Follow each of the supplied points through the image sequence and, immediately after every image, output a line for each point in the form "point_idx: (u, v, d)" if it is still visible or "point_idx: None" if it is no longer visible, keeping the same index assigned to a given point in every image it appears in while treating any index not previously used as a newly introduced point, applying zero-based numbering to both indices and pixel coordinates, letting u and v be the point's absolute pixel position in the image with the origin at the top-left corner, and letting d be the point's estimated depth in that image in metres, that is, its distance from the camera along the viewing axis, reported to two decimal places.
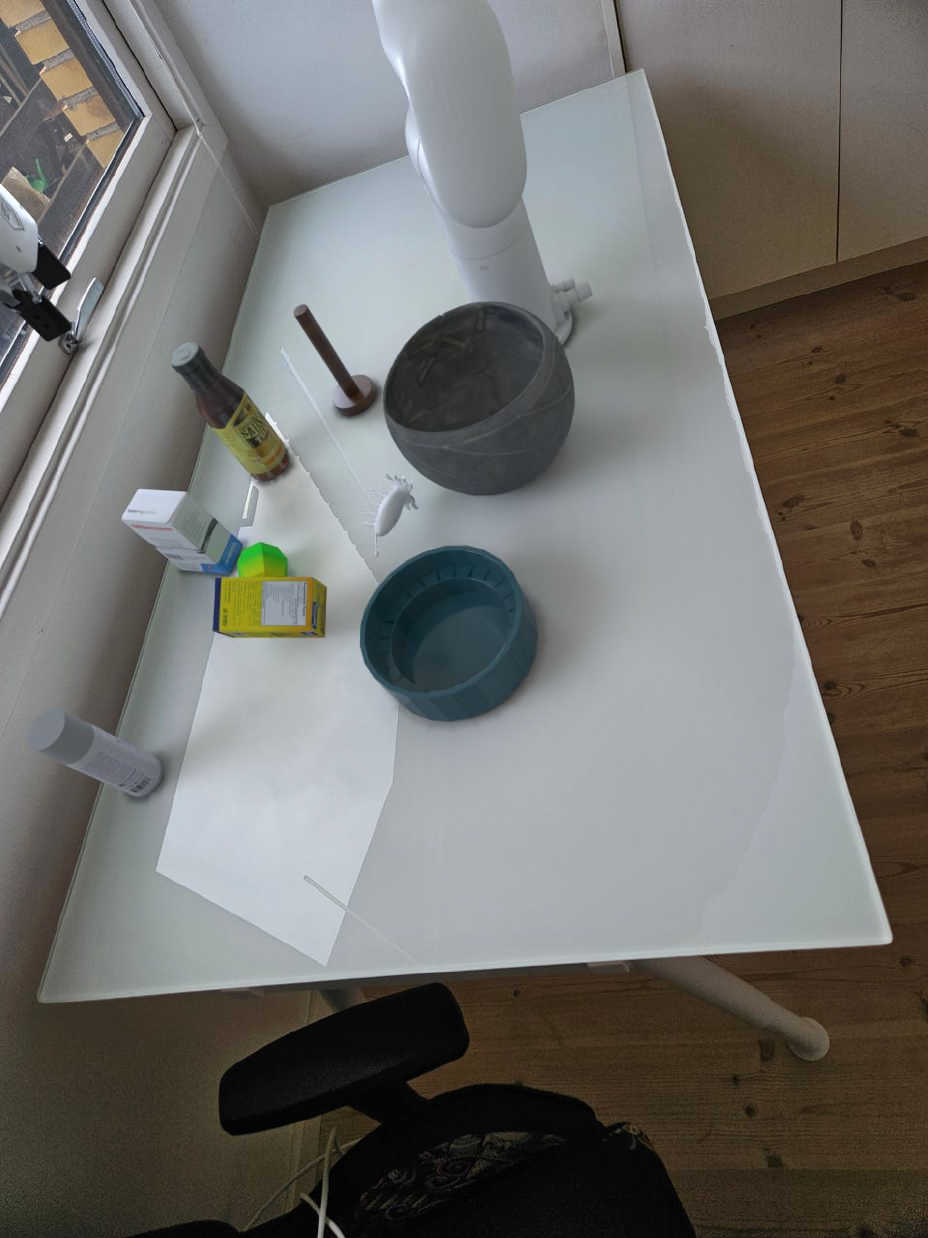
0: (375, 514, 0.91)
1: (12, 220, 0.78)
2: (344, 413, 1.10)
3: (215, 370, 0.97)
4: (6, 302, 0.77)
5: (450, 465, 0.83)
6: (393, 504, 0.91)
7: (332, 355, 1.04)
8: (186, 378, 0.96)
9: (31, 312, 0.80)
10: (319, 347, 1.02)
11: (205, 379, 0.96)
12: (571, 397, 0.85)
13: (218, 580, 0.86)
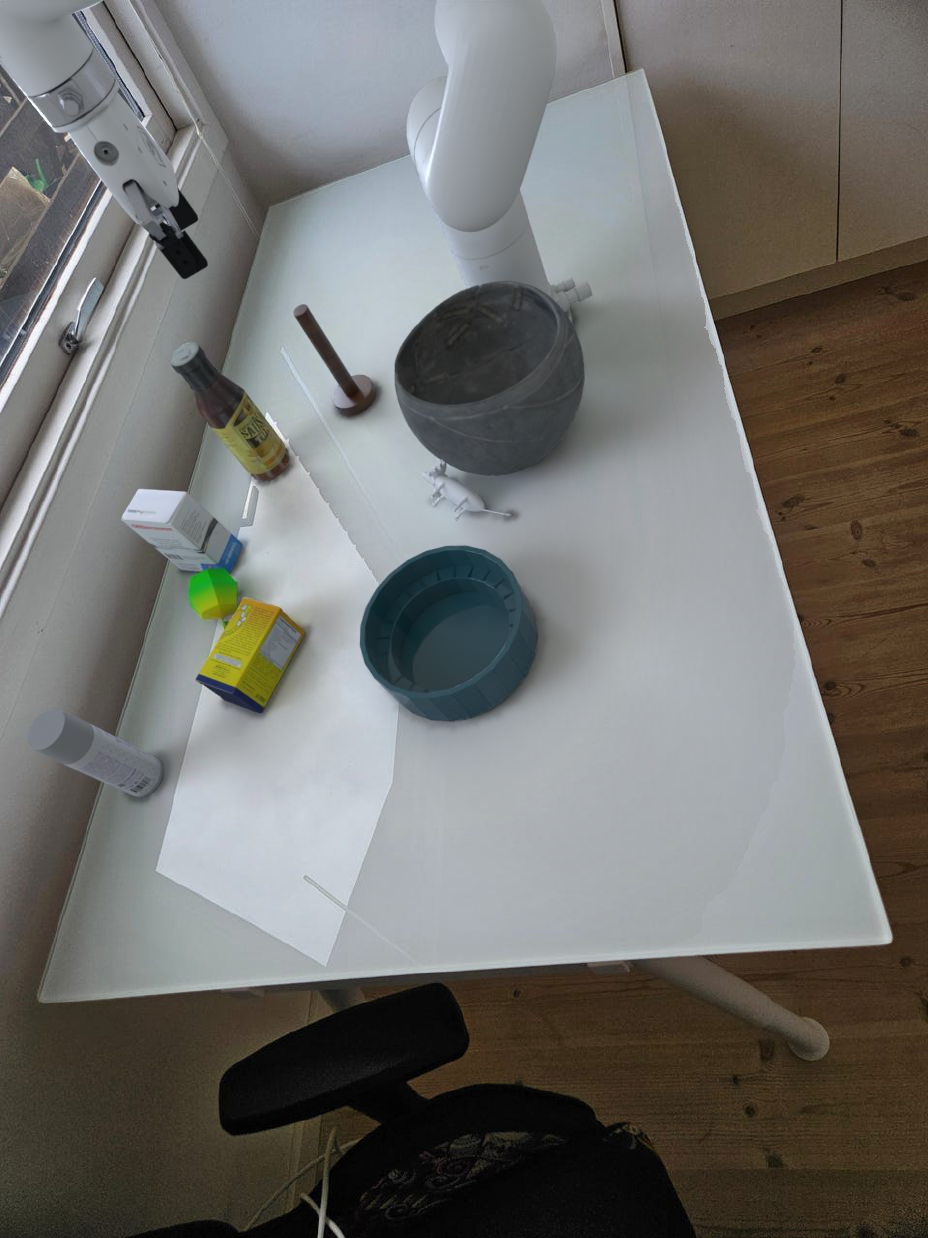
0: (465, 499, 0.92)
1: (156, 156, 0.80)
2: (344, 413, 1.10)
3: (215, 370, 0.97)
4: (154, 235, 0.78)
5: (434, 436, 0.85)
6: (460, 482, 0.93)
7: (332, 355, 1.04)
8: (186, 378, 0.96)
9: (173, 247, 0.82)
10: (319, 347, 1.02)
11: (205, 379, 0.96)
12: (570, 401, 0.84)
13: (236, 691, 0.86)
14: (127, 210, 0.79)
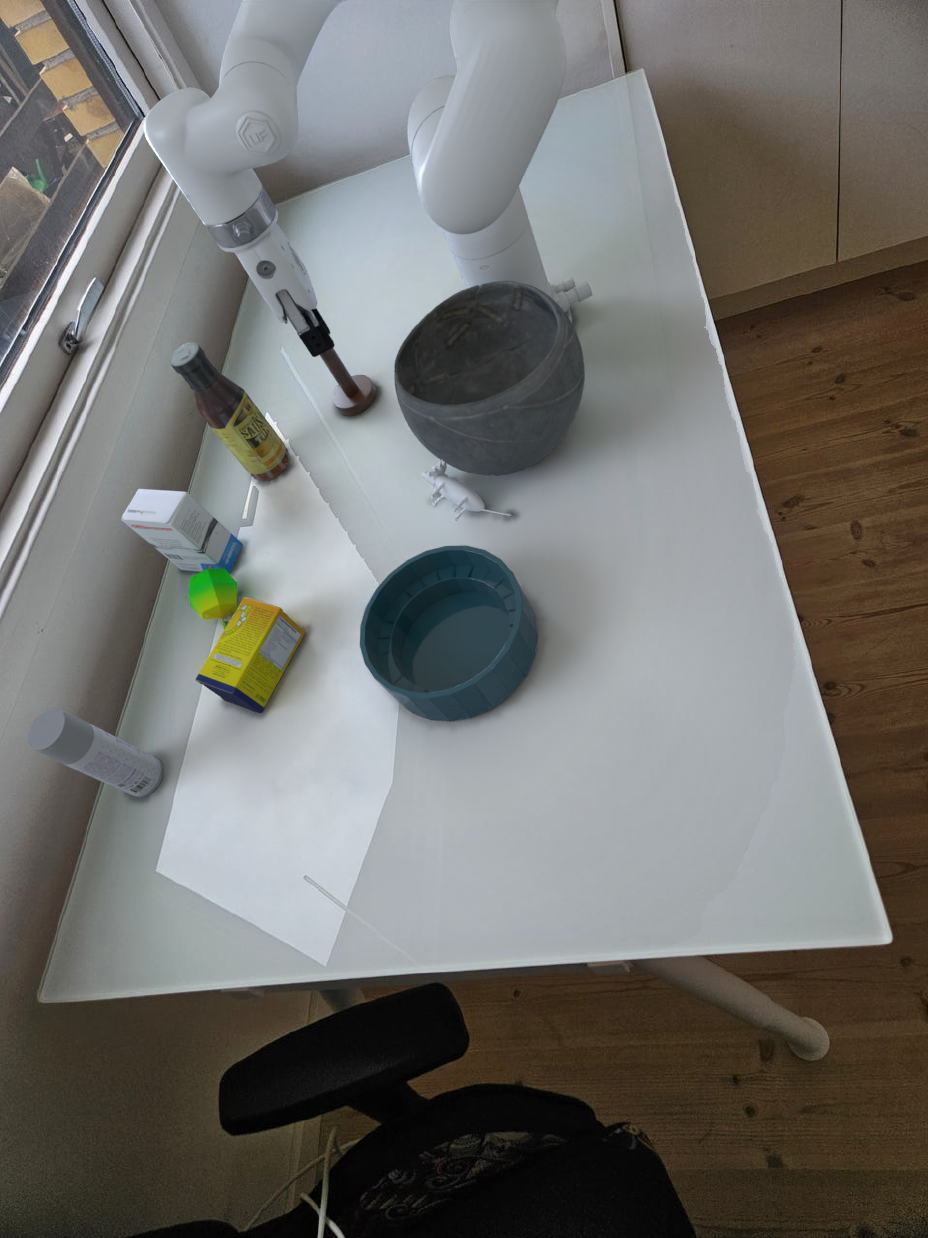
0: (465, 499, 0.92)
1: (299, 266, 0.94)
2: (344, 413, 1.10)
3: (215, 370, 0.97)
4: None
5: (434, 436, 0.85)
6: (460, 482, 0.93)
7: (332, 355, 1.04)
8: (186, 378, 0.96)
9: (309, 333, 0.99)
10: None
11: (205, 379, 0.96)
12: (570, 401, 0.84)
13: (236, 691, 0.86)
14: (275, 313, 0.93)
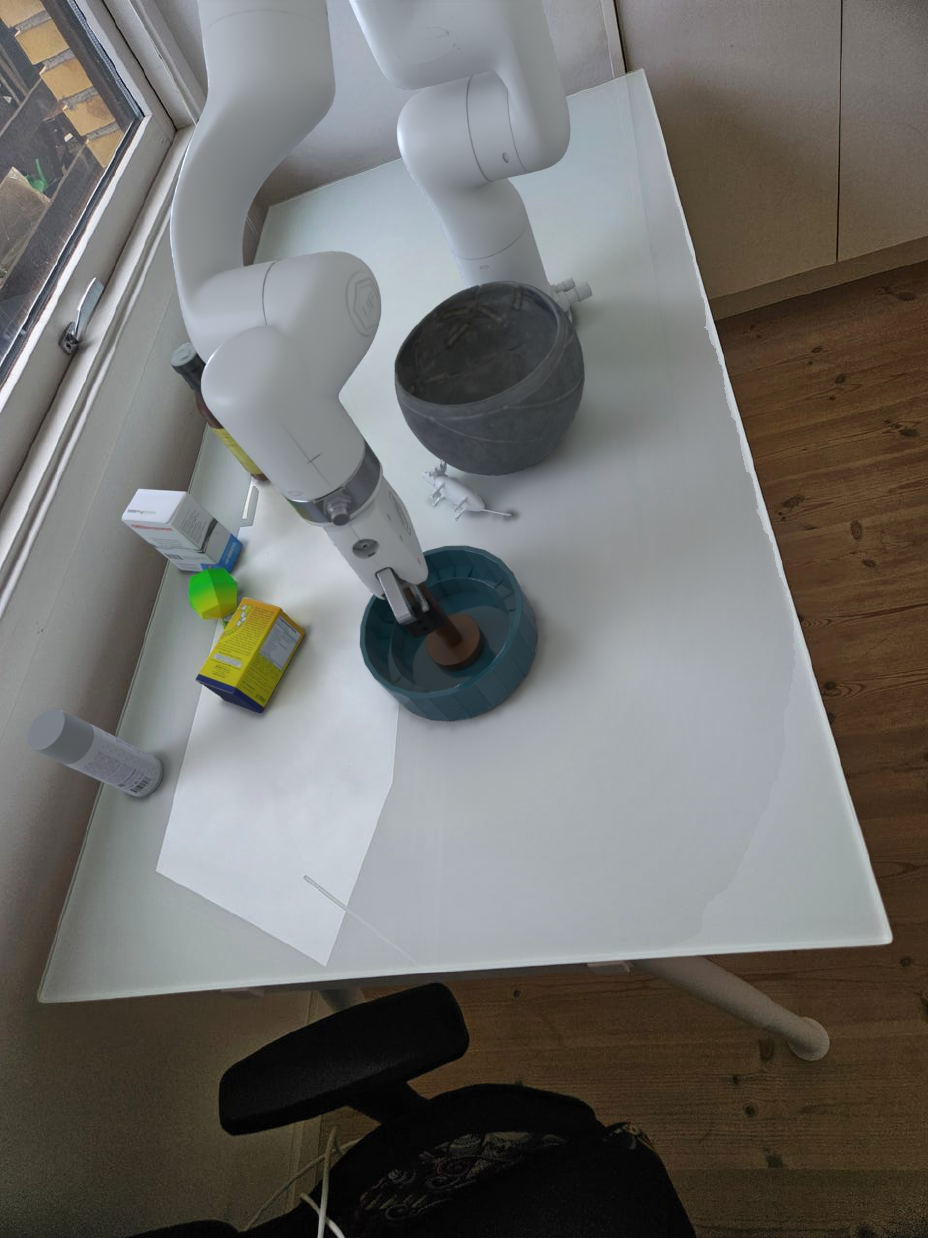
0: (465, 499, 0.92)
1: (404, 522, 0.68)
2: (442, 668, 0.84)
3: None
4: (405, 623, 0.66)
5: (434, 436, 0.85)
6: (460, 482, 0.93)
7: None
8: (186, 378, 0.96)
9: (415, 619, 0.70)
10: None
11: None
12: (570, 401, 0.84)
13: (236, 691, 0.86)
14: (373, 591, 0.67)
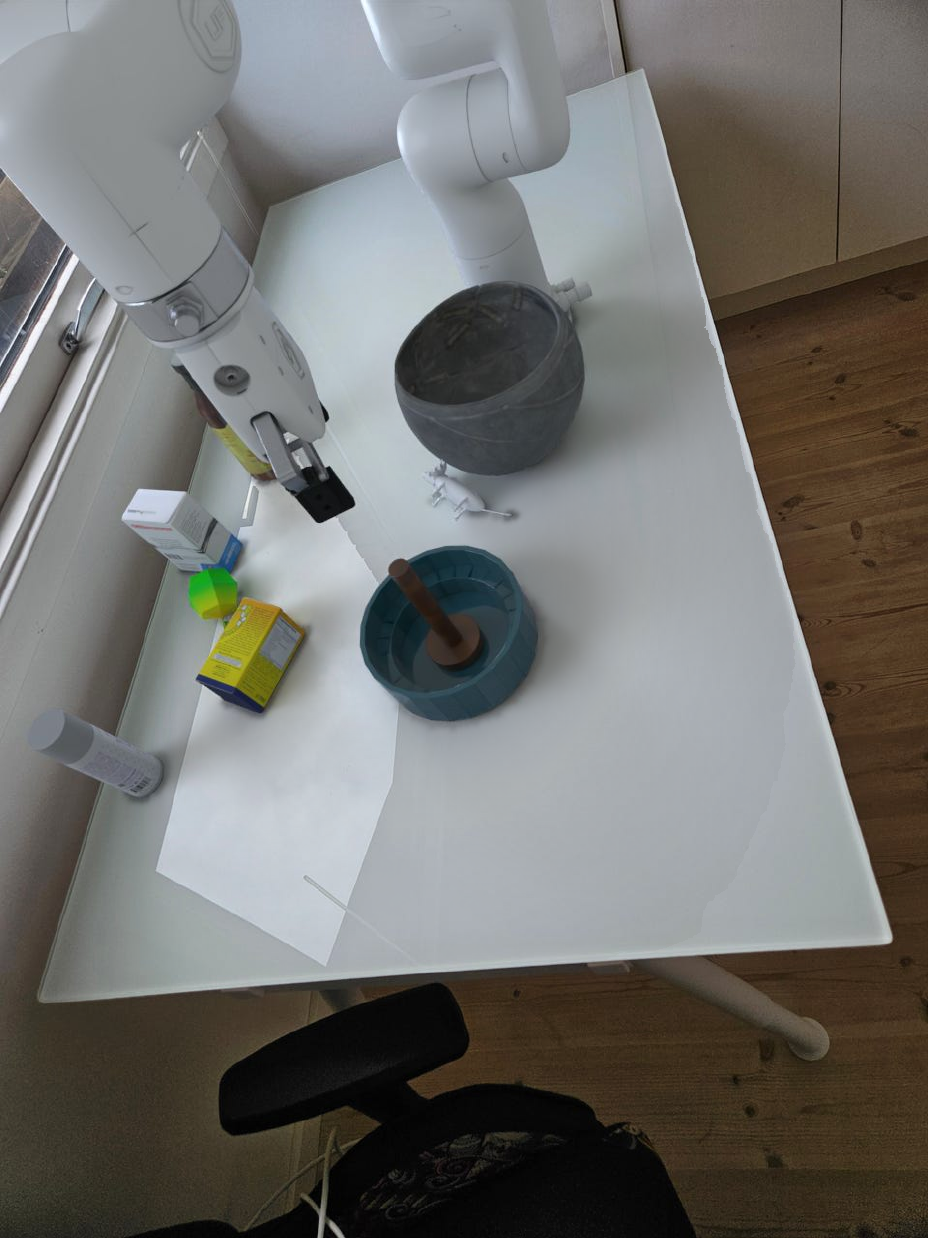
0: (465, 499, 0.92)
1: (294, 363, 0.53)
2: (442, 668, 0.84)
3: None
4: (293, 489, 0.52)
5: (434, 436, 0.85)
6: (460, 482, 0.93)
7: (434, 610, 0.78)
8: (186, 378, 0.96)
9: (312, 492, 0.55)
10: (419, 605, 0.76)
11: None
12: (570, 401, 0.84)
13: (236, 691, 0.86)
14: (252, 449, 0.52)
